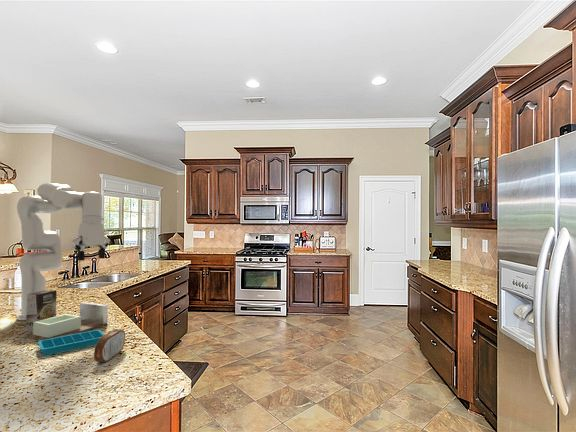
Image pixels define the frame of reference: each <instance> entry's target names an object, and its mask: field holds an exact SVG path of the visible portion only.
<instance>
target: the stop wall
mask: <svg viewBox="0 0 576 432" xmlns="http://www.w3.org/2000/svg"><path fill="white" fill-rule="evenodd" d="M108 315H109V311H108V304H104V303H103V304H102V303H94V302H87V301H82V302H79V316H81V320H82V321H88V322H94V323H100V324H105V323H107V324H108V317H109V316H108Z"/></svg>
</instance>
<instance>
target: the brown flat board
mask: <svg viewBox="0 0 576 432" xmlns="http://www.w3.org/2000/svg"><path fill="white" fill-rule="evenodd" d="M105 326H108V322H107V323H105V324H100V323H94V322H88V321H82V320H81V328H80V329H76V330H73V331H70V332H66V333H63V334H60V335H56V336H53V337H50V338H47V337H42V336H38V335H33V332H30V333H28V334H26V338H29V339H35V340H37V341H41V340H46V339H51V338H56V337H62V336H67V335H72V334H77V333H82V332H88V331H93V330H97V329H100V328H102V327H105Z"/></svg>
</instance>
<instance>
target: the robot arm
mask: <svg viewBox="0 0 576 432" xmlns="http://www.w3.org/2000/svg"><path fill="white" fill-rule="evenodd" d="M36 192H37V195H24V196H21V197H20V198H19V199H18V201H17V204H16V210H17V211H16V212H17V214H18V217H19V221H20V224H21V241H22V242H21V243H22V247H23V249H25V250H26V251H40V250H41V251H42V250H43V251H44V250H45V252H29V253H27V254H24V255H22V256H21V257H20V259H19V262H18V263H19V269H20V276H21V296H20V297H21V301H20V302H21V303H20V305H21V307H20V309H19V312H20V315H18V316H17V317H16V319H17V320H18V321H26V311H27V294H30V293H35V292H40V291H45V290H47V288H46V287H47V284H46V283H47V282H46V281H47V280H46V277H44V275H43V274H42V272H49V271H56V270H58V269H60V268H61V266H62V264H63V263H62V262H63V255H62V254H63V253H62V240H61V237H60V234H59V233H58V232H57V231H53V230H44V227H43V226H44V225H43V224H44V223H43V220H42V219H41V218H40V216H39V215H37V214H57V213H59V212H61V211H62V210H63V209H66V210H81V223H79V225H78V231H77V237H76V238H74V239H73V240H71V244H72V246H73V248H74V249H75V250H76V251H77V261H85V254H86V252H85V248H86V247H96V246H97V247H98V259H105V258H106V250H107V249H108V246H109V244H110V242H111V239H110V238H109V237H106V235H105V234H106V233H105V227H104V224H103V221H104V219H105V218H103V196H102V194H101V193H100V192H99V191H98V192H96V191H85V192H77V191H73V188H72V187H71V186H70V185H68V184H60V183H52V182H46V183H42V184H40V185H39V186H38V187H37V189H36Z"/></svg>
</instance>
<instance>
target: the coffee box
mask: <svg viewBox="0 0 576 432" xmlns="http://www.w3.org/2000/svg"><path fill="white" fill-rule="evenodd" d="M57 291H58V290H50V289H48V290H47V289H46V290H45V291H40V292H35V293H30V294H27V311H26V320H25V332H29V333H33V322H36V321H40V320H44V319H48V318H52V317H56V316H57Z"/></svg>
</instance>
